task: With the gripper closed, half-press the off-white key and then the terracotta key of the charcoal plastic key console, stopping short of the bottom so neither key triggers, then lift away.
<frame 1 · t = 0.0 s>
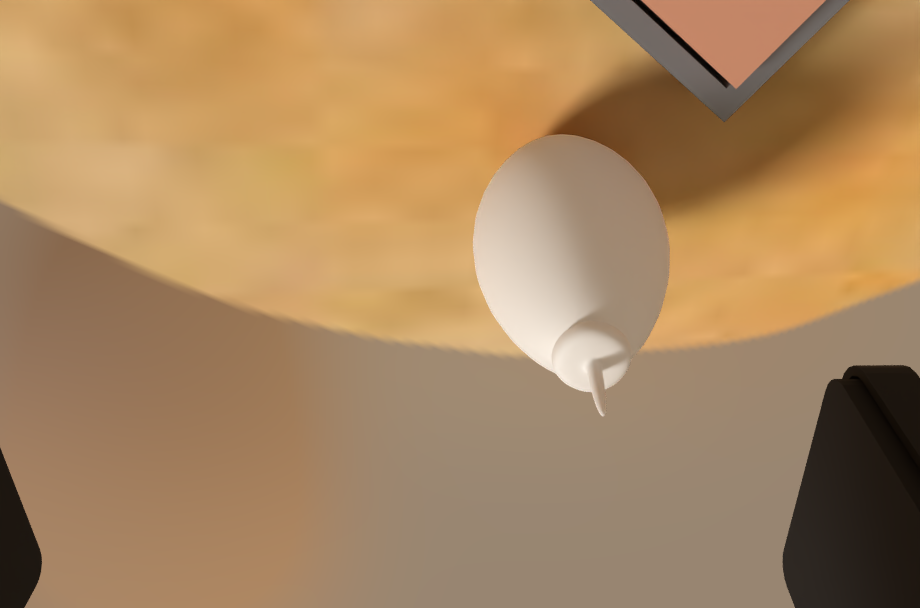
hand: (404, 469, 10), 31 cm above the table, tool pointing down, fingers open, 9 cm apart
sauce bottle: (555, 178, 42), on the table
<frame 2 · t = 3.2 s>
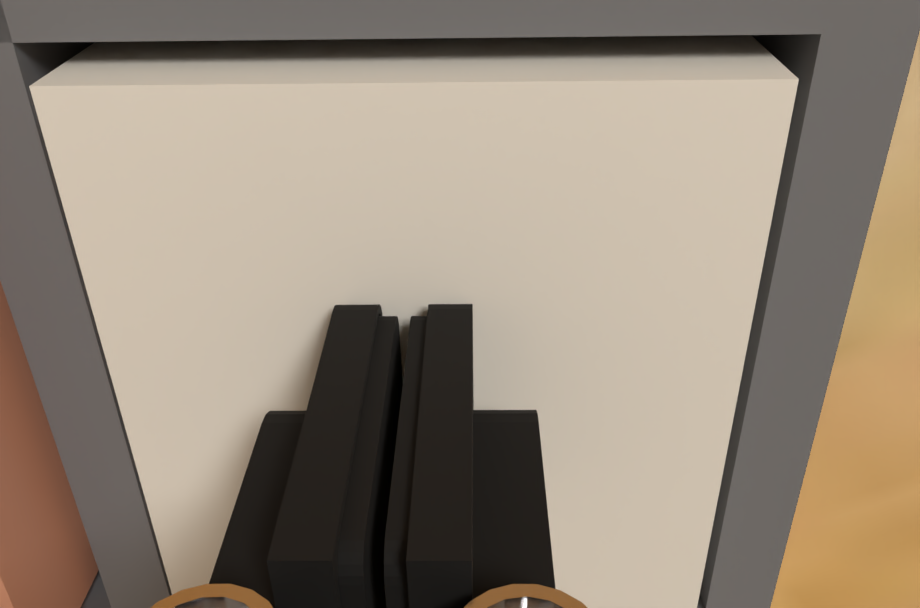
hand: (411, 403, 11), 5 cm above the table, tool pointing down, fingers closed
key console: (175, 233, 15), on the table
key white: (429, 354, 12), point 4 cm above the table, slide at 0.9 cm, touching gripper
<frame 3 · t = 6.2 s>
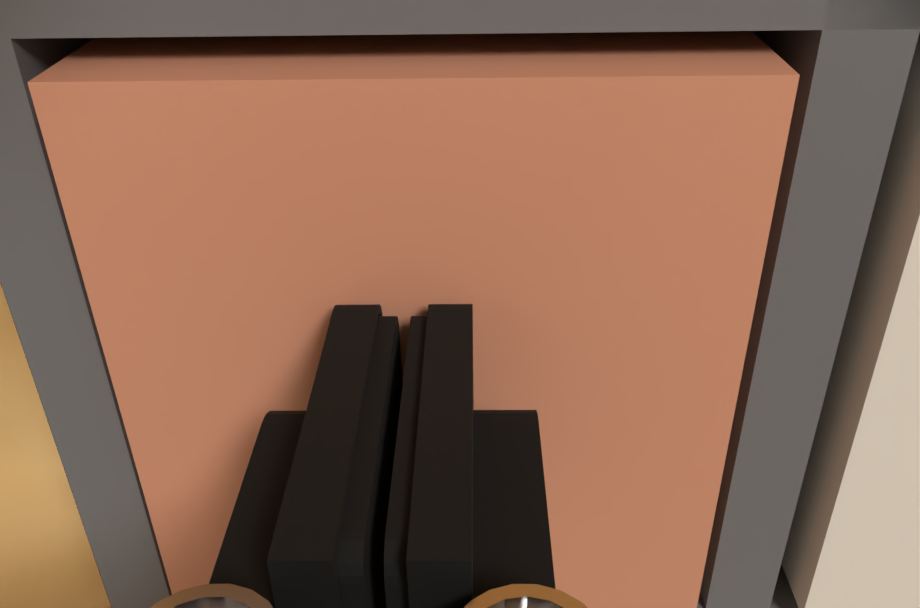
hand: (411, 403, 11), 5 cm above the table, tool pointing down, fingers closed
key console: (710, 228, 15), on the table
key terracotta: (429, 351, 12), point 4 cm above the table, slide at 0.9 cm
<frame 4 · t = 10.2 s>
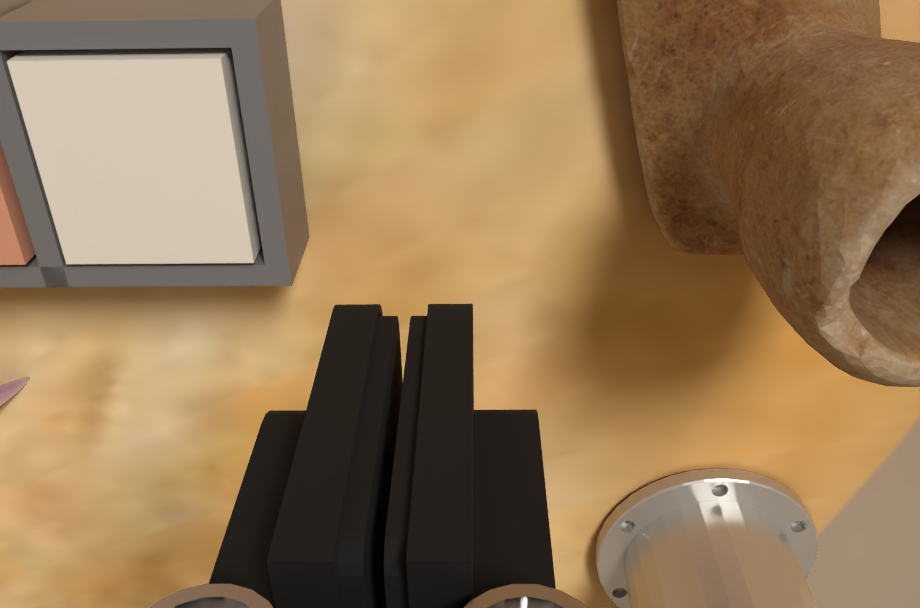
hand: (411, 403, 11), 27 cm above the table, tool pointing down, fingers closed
key console: (67, 126, 37), on the table
key white: (148, 156, 34), point 4 cm above the table, slide at 1.2 cm
brown boot: (765, 71, 36), on the table
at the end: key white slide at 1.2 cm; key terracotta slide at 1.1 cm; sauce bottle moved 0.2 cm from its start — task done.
